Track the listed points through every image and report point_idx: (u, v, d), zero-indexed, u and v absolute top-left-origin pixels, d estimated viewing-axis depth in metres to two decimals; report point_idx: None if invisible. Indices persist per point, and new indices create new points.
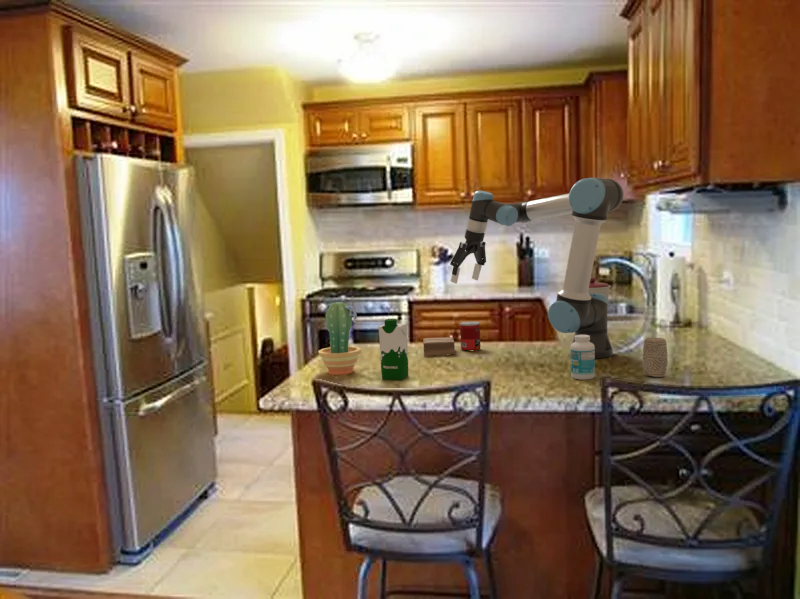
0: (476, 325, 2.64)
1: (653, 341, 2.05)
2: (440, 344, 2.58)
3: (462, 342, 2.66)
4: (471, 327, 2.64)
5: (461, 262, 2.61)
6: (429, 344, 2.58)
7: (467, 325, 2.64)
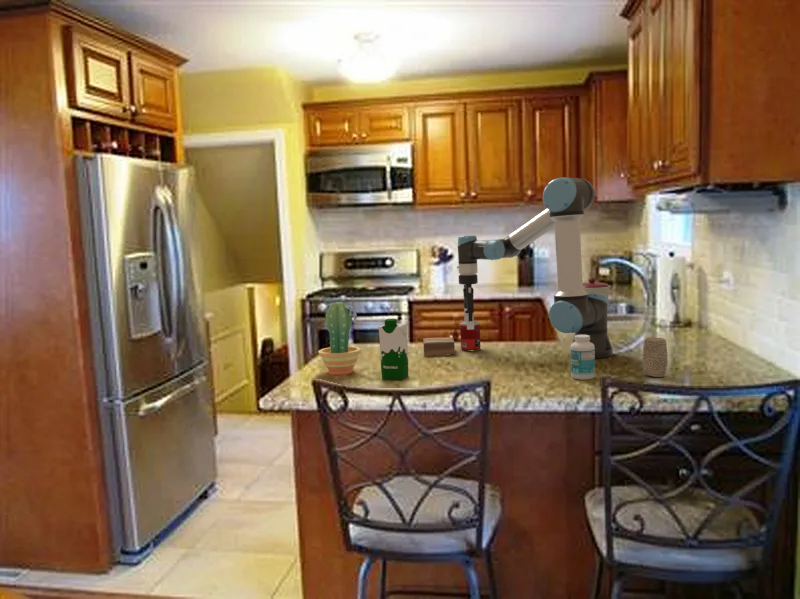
0: (476, 325, 2.64)
1: (653, 341, 2.05)
2: (440, 344, 2.58)
3: (462, 342, 2.66)
4: None
5: None
6: (429, 344, 2.58)
7: None
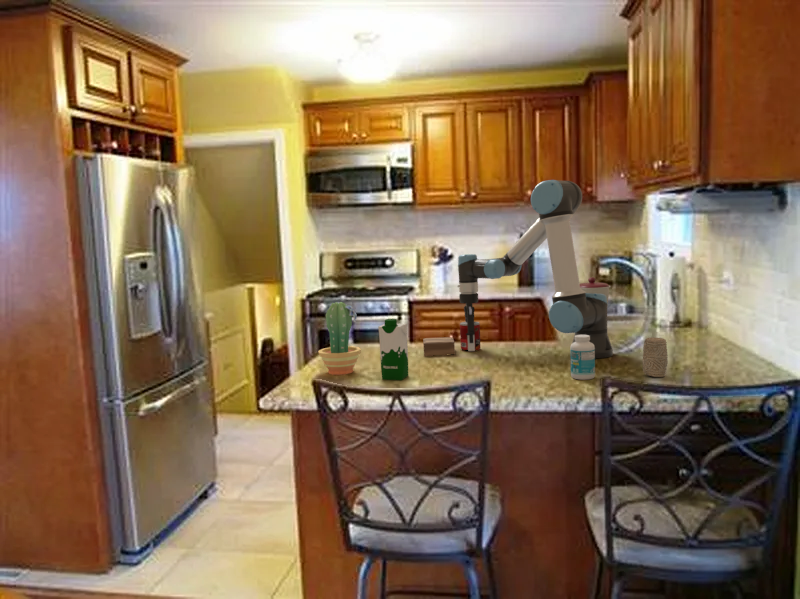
0: (476, 325, 2.64)
1: (653, 341, 2.05)
2: (440, 344, 2.58)
3: (462, 342, 2.66)
4: None
5: None
6: (429, 344, 2.58)
7: None
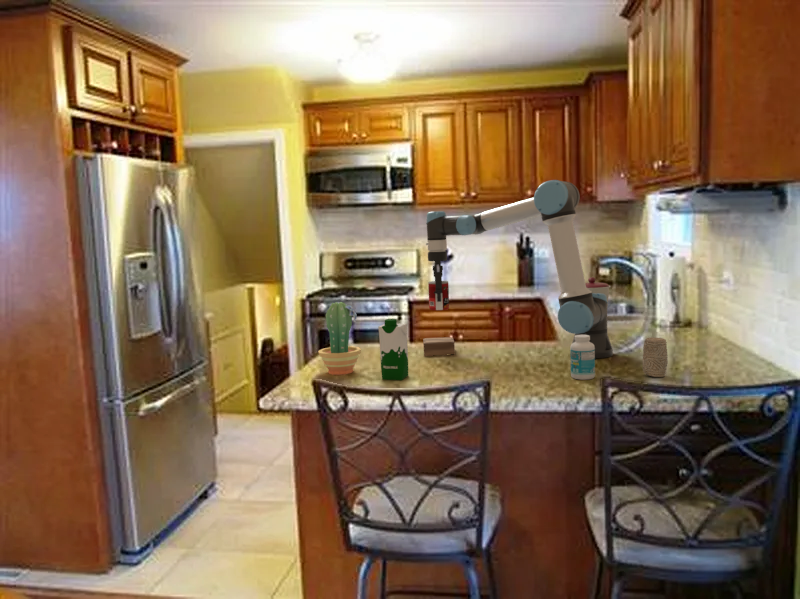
0: (444, 283, 2.59)
1: (653, 341, 2.05)
2: (440, 344, 2.58)
3: (430, 301, 2.61)
4: None
5: None
6: (429, 344, 2.58)
7: None
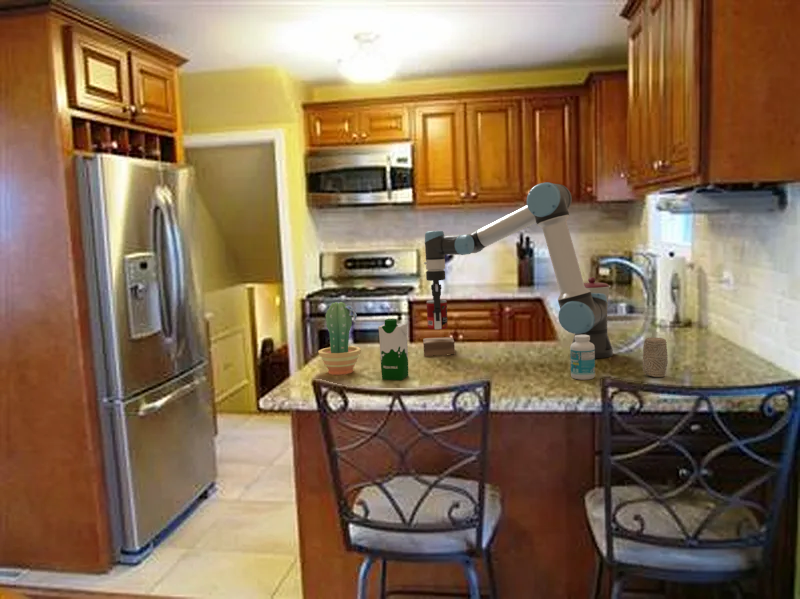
0: (443, 303, 2.60)
1: (653, 341, 2.05)
2: (440, 344, 2.58)
3: (429, 320, 2.62)
4: None
5: None
6: (429, 344, 2.58)
7: (433, 303, 2.59)
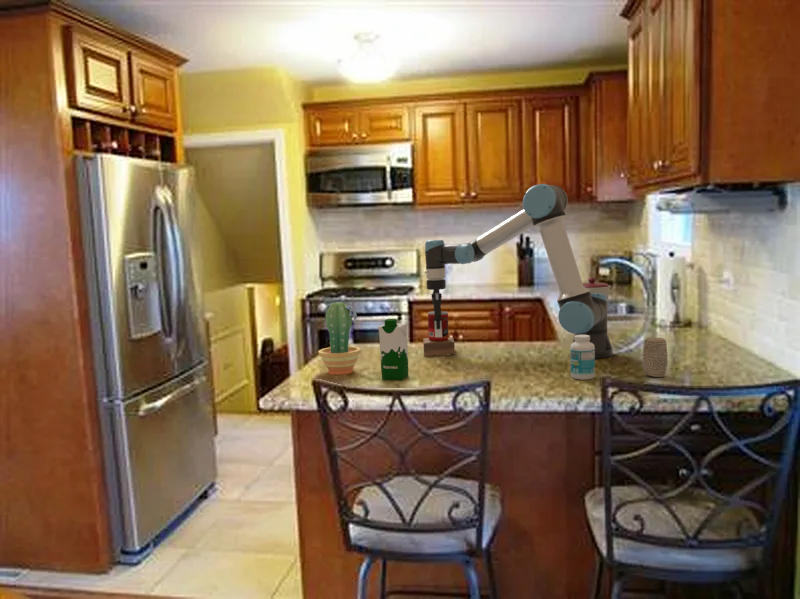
0: (444, 314, 2.60)
1: (653, 341, 2.05)
2: (440, 344, 2.58)
3: (430, 331, 2.62)
4: None
5: None
6: (429, 344, 2.58)
7: None
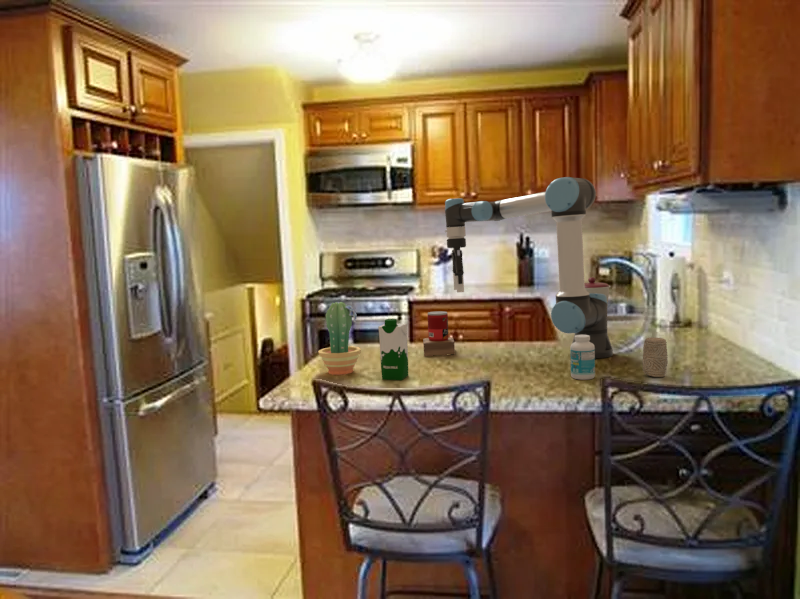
0: (443, 315, 2.60)
1: (653, 341, 2.05)
2: (440, 344, 2.58)
3: (429, 332, 2.62)
4: (438, 317, 2.59)
5: (462, 269, 2.59)
6: (429, 344, 2.58)
7: (434, 315, 2.60)
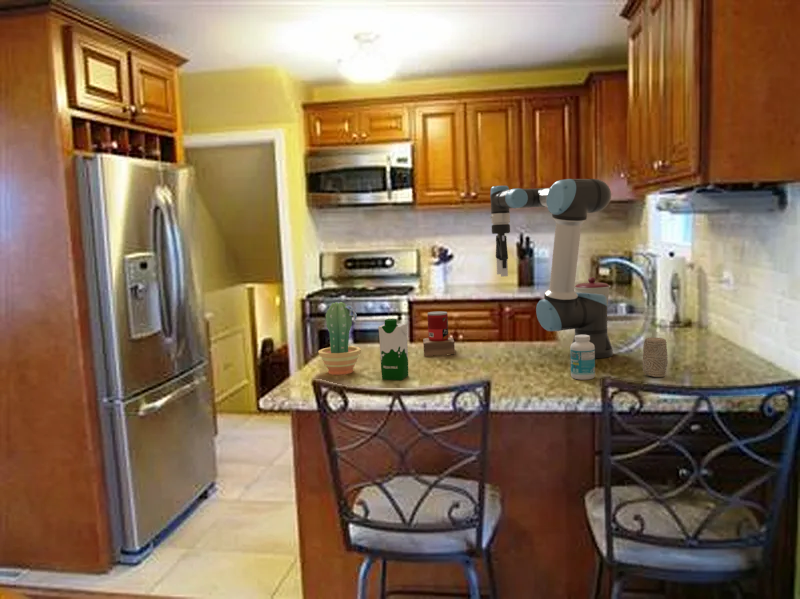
0: (443, 315, 2.60)
1: (653, 341, 2.05)
2: (440, 344, 2.58)
3: (429, 332, 2.62)
4: (438, 317, 2.59)
5: None
6: (429, 344, 2.58)
7: (434, 315, 2.60)
